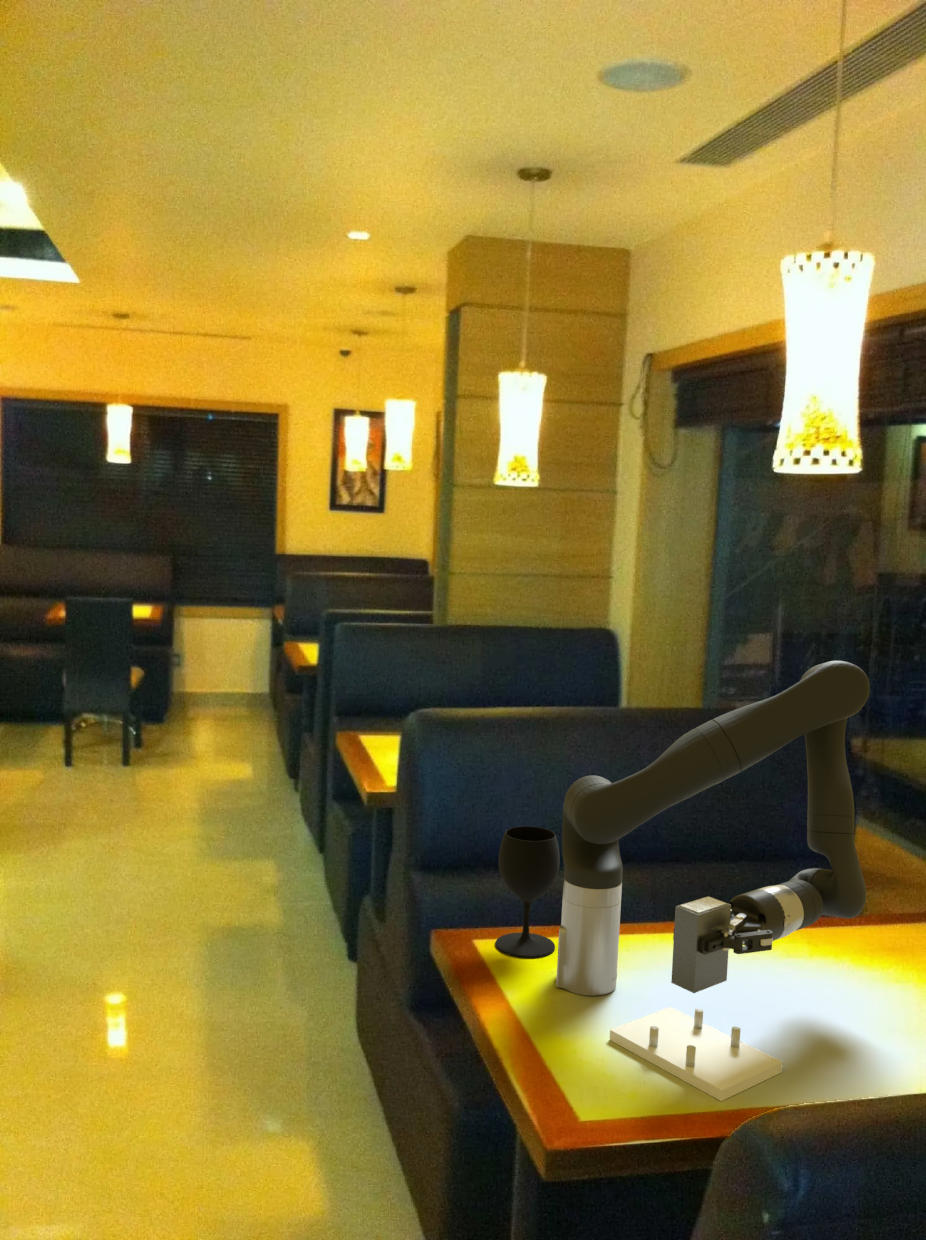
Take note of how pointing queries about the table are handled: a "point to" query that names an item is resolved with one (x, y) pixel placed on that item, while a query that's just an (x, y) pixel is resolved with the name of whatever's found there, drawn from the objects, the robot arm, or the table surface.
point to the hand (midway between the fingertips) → (688, 941)
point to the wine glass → (528, 883)
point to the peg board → (697, 1052)
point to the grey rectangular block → (688, 930)
